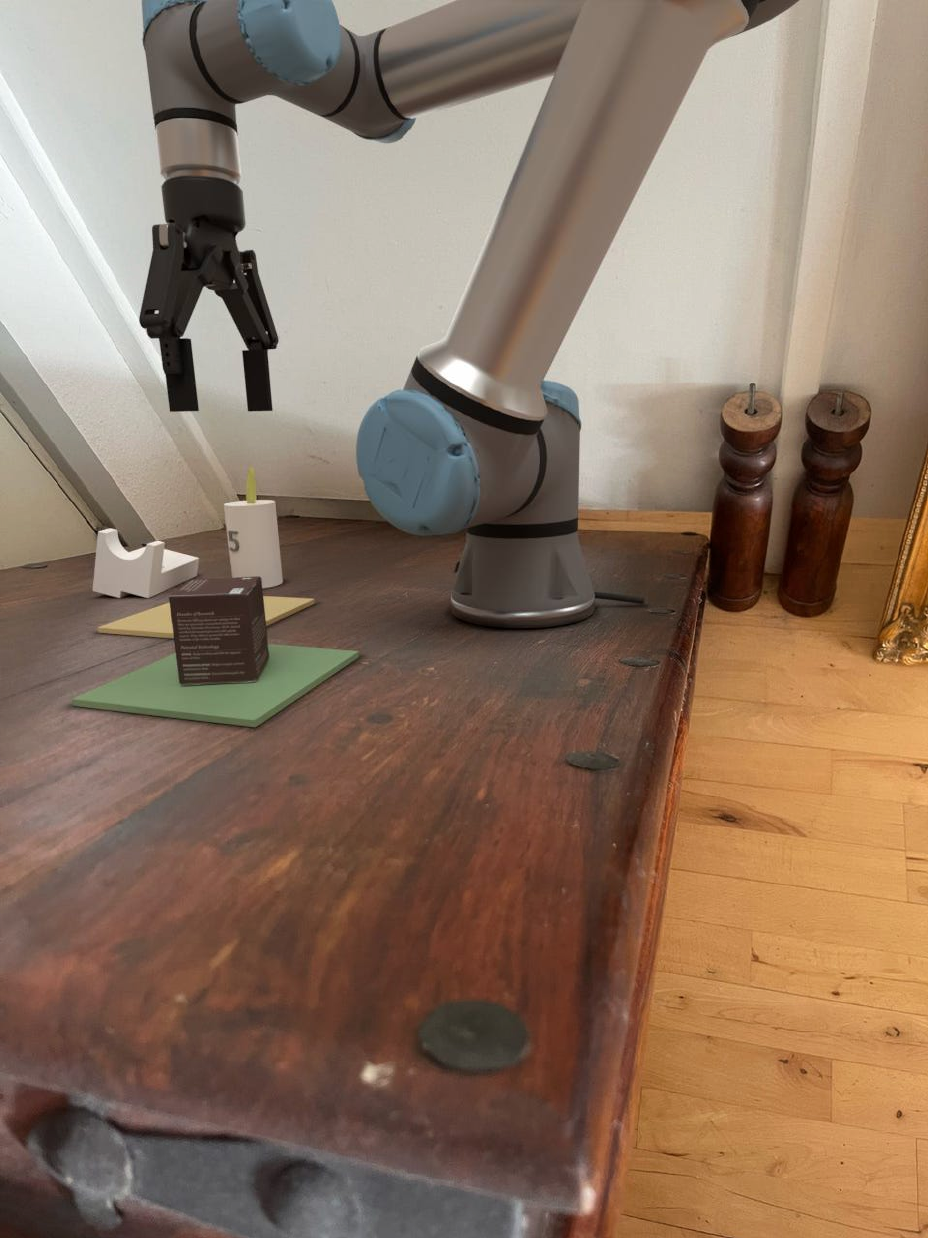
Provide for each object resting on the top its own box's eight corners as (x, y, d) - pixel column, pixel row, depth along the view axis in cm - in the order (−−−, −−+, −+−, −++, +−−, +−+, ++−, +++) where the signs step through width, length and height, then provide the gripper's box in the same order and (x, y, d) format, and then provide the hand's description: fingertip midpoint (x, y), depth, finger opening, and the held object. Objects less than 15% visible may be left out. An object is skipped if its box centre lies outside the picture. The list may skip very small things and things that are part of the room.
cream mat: (315, 603, 86) (314, 598, 85) (231, 643, 71) (230, 637, 71) (198, 597, 91) (198, 592, 90) (98, 632, 76) (97, 627, 76)
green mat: (359, 657, 66) (358, 650, 65) (255, 728, 51) (254, 720, 51) (206, 645, 71) (206, 639, 70) (72, 706, 56) (71, 698, 56)
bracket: (147, 605, 91) (154, 545, 89) (92, 590, 91) (98, 531, 89) (195, 582, 104) (202, 529, 101) (147, 569, 104) (153, 517, 102)
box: (199, 663, 63) (188, 578, 62) (271, 659, 64) (262, 575, 62) (178, 687, 58) (165, 595, 56) (257, 683, 58) (247, 591, 56)
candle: (221, 586, 96) (207, 468, 92) (259, 577, 101) (247, 464, 97) (255, 591, 93) (242, 468, 89) (293, 581, 98) (282, 465, 94)
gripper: (240, 217, 85) (257, 411, 90) (71, 145, 62) (109, 412, 67) (299, 211, 83) (313, 410, 88) (147, 134, 59) (180, 410, 65)
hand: (225, 411), depth 78 cm, fingers open, 13 cm apart
